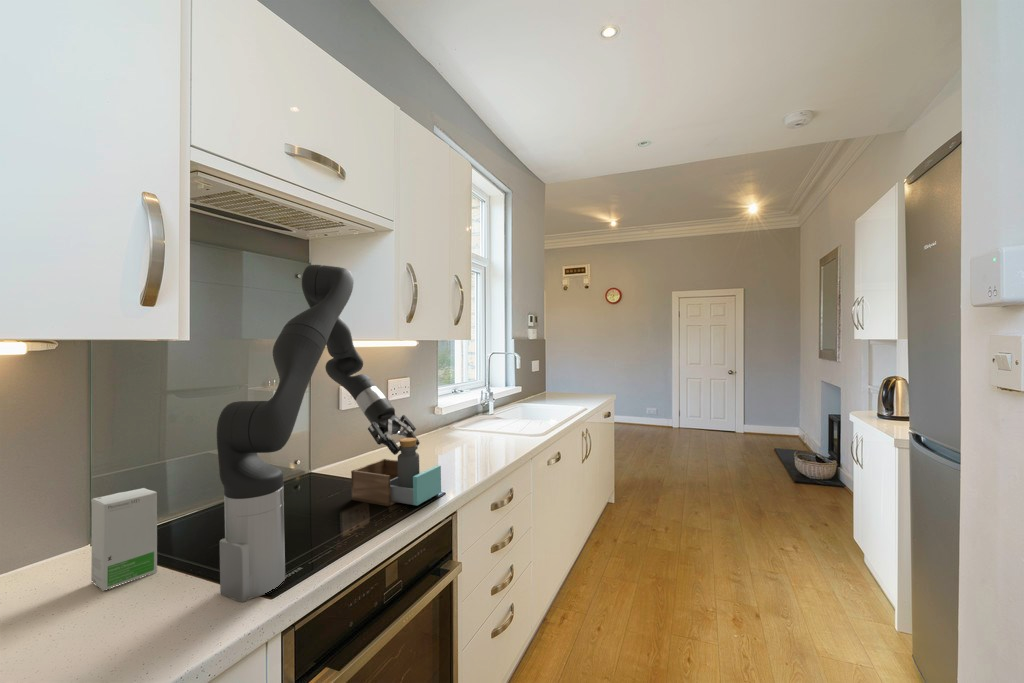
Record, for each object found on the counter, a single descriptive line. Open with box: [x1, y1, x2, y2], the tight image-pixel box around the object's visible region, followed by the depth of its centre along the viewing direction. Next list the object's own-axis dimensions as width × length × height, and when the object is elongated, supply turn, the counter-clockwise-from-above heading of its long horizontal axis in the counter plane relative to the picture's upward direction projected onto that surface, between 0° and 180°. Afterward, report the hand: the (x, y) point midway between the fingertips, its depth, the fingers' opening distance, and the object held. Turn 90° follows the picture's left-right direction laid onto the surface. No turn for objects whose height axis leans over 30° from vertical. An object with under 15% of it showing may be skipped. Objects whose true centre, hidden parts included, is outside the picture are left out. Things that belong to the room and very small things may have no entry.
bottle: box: [397, 437, 421, 489], centre depth 121 cm, size 6×6×15 cm
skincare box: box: [90, 487, 158, 591], centre depth 83 cm, size 8×7×16 cm
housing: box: [350, 458, 398, 507], centre depth 125 cm, size 13×13×8 cm
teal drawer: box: [390, 465, 442, 506], centre depth 121 cm, size 11×12×7 cm
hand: (407, 449), depth 122 cm, fingers open, 8 cm apart
